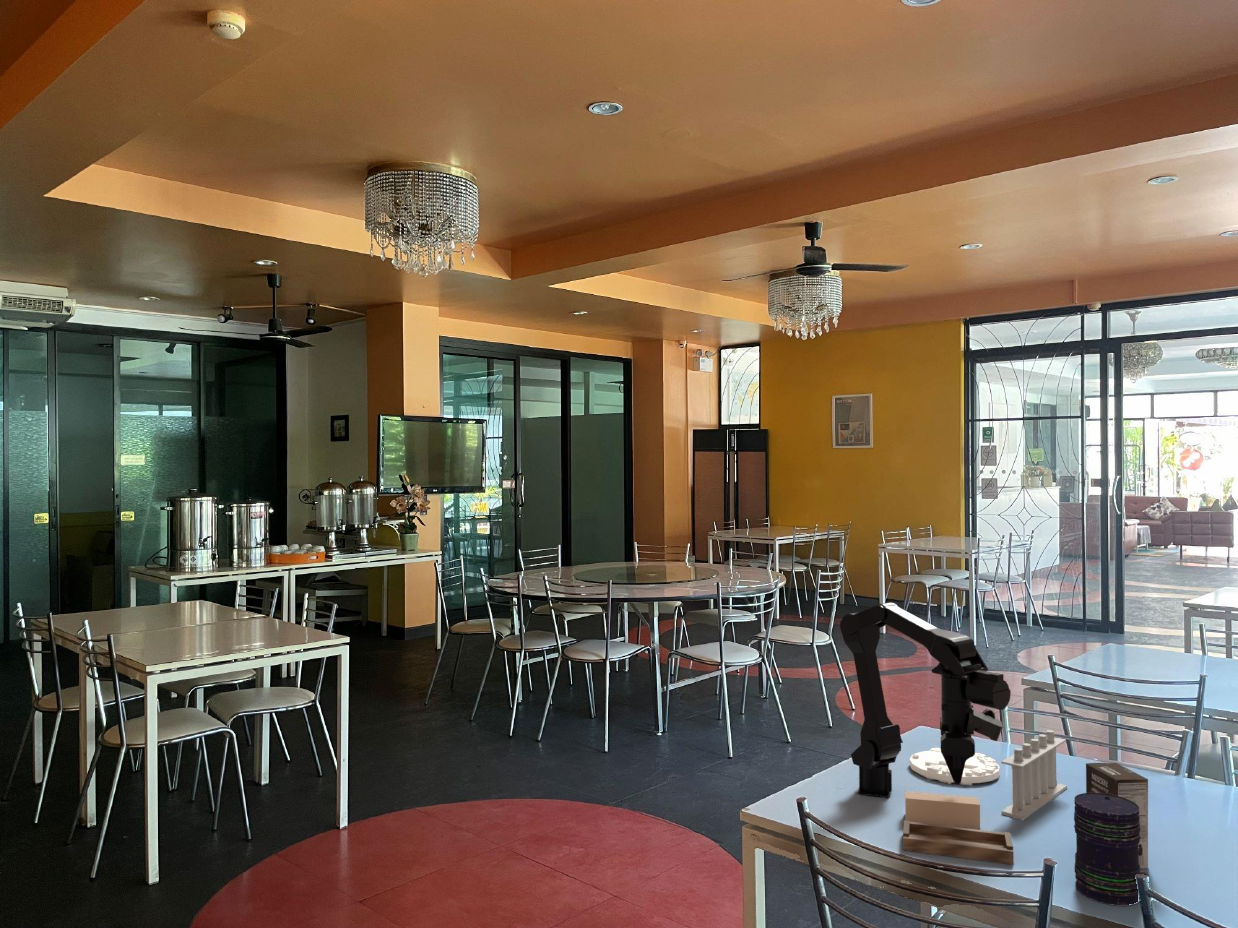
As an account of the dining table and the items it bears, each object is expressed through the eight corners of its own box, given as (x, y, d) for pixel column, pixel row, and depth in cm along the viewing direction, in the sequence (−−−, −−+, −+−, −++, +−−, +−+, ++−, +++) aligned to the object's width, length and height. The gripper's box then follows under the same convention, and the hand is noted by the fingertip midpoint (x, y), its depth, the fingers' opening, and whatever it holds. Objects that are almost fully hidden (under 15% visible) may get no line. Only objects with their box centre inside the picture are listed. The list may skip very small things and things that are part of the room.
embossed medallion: (935, 753, 224) (935, 742, 224) (1014, 772, 209) (1014, 759, 209) (894, 772, 210) (894, 759, 210) (974, 793, 196) (974, 779, 196)
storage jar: (1140, 911, 142) (1139, 818, 143) (1072, 896, 148) (1070, 806, 148) (1142, 886, 151) (1141, 799, 151) (1077, 873, 156) (1076, 788, 156)
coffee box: (1084, 848, 166) (1083, 762, 166) (1117, 846, 167) (1116, 761, 167) (1116, 870, 157) (1115, 779, 157) (1150, 868, 158) (1149, 777, 158)
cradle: (903, 849, 166) (903, 834, 166) (904, 832, 174) (904, 818, 174) (1013, 864, 160) (1013, 848, 160) (1009, 845, 168) (1009, 830, 168)
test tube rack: (1023, 820, 180) (1022, 755, 180) (1001, 814, 183) (1000, 750, 183) (1067, 788, 198) (1066, 729, 198) (1046, 783, 201) (1045, 725, 201)
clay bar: (906, 822, 180) (905, 798, 180) (905, 815, 183) (905, 791, 183) (980, 829, 176) (979, 804, 176) (977, 821, 180) (977, 797, 180)
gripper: (1003, 714, 167) (1003, 796, 167) (996, 690, 185) (997, 765, 185) (940, 709, 171) (941, 790, 171) (939, 686, 189) (940, 759, 189)
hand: (956, 775), depth 179 cm, fingers open, 9 cm apart
